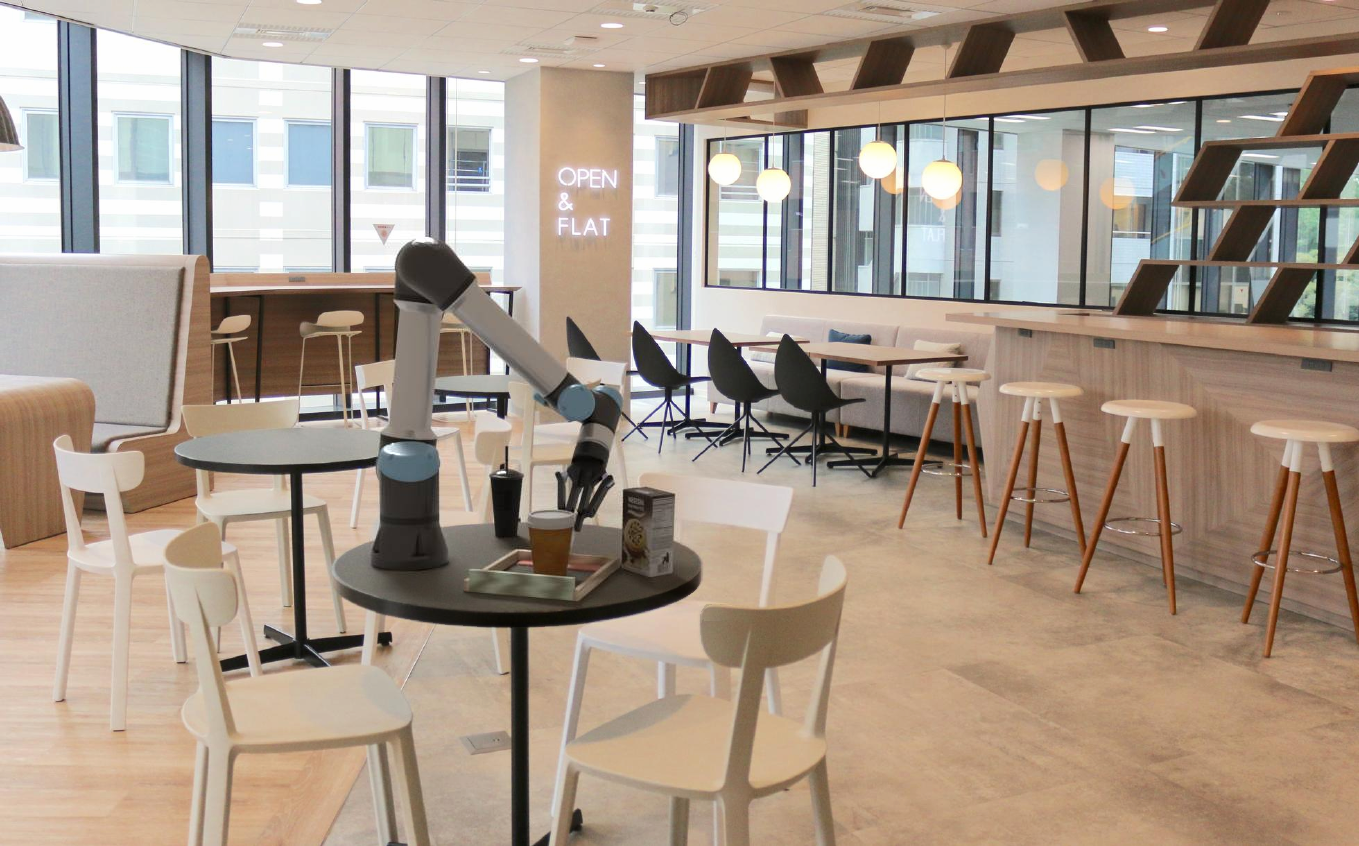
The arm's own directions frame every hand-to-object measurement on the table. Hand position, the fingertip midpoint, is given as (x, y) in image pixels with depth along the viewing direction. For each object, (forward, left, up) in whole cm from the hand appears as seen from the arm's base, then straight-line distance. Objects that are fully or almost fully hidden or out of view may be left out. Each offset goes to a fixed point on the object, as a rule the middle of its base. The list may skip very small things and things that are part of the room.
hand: (567, 543), depth 238 cm
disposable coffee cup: (0, -10, -4) cm, 11 cm away
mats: (0, -2, -4) cm, 5 cm away
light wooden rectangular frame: (0, -13, -4) cm, 13 cm away
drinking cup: (-21, +20, -4) cm, 30 cm away
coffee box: (+17, -1, -4) cm, 17 cm away
